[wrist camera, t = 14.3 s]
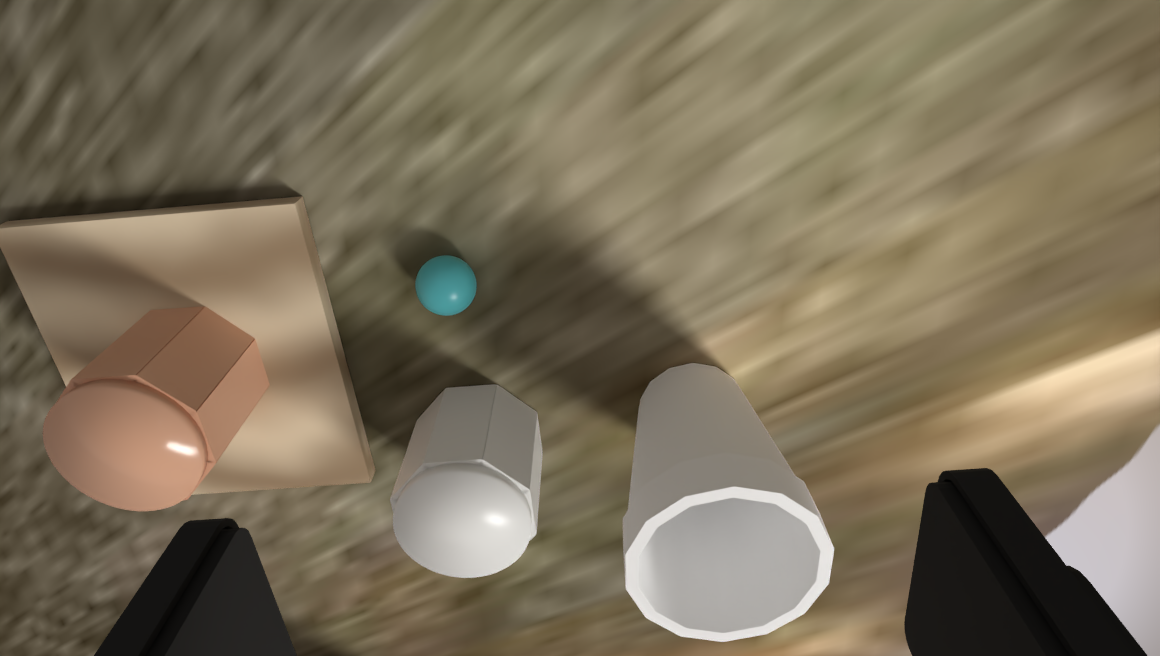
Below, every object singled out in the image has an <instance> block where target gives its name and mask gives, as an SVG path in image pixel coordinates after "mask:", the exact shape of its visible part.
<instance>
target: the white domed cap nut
mask: <svg viewBox="0 0 1160 656" xmlns="http://www.w3.org/2000/svg"><path fill="white" fill-rule="evenodd" d="M542 453H543V452H542V444H541V437H540V429H539V422H538V415H537V411H535V410H534V409H532V408H531V407H529V406H528V405H526V404H525V403H523V402H522V401H521V400H519V399H518V398H516V397H515V396H513V395H512V394H510V393H509V392H507V391H506V390H505V389H503V388H502V387H500V386H499V385H496V384H491V385H478V386H464V387H450V388H445V389H444V390H443V391H442V392H441V394H440V395H439V396H438V397H437V398H436V399H435V400H434V401H433V403H432V404H431V405H430V406H429V407H428V408H427V409H426V410H425V411H424V413H423V414H422V415H421V416H420V417H419V418H418V419H417V421H416V424H415V427H414V430H413V433H412V436H411V439H410V442H409V445H408V448H407V450H406V453H405V456H404V459H403V462H402V465H401V468H400V471H399V474H398V477H397V480H396V483H395V486H394V489H393V492H392V495H391V498H390V502H391V505H392V509H393V513H394V515H393V528H394V533H395V535H396V538H397V540H398V542H399V544H400V546H401V547H402V548H403V550H404V551H405V552H406V553H407V554H408V555H409V556H410V557H411V558H412V559H413V560H414V561H416V562H417V563H419V564H420V565H422V566H423V567H425V568H427V569H429V570H432V571H434V572H437V573H440V574H443V575H447V576H453V577H462V578H473V577H482V576H486V575H490V574H493V573H496V572H499V571H501V570H503V569H505V568H507V567H508V566H510V565H511V564H513V563H514V562H515V561H516V560H517V559H518V558H519V557H520V556H521V555H522V554H523V552H524V551H525V549H526V547H527V545H528V543H529V541H530V540H531V539H532V538H533V537H534V536H535V535H536V533H537V520H538V506H539V493H540V480H541V467H542Z"/></svg>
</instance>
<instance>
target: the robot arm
mask: <svg viewBox="0 0 1160 656" xmlns="http://www.w3.org/2000/svg"><path fill="white" fill-rule="evenodd" d="M905 634H906V640H907V643H908V646H909V649H910V652H911V654H912V656H1147V654H1146V653H1145V652H1144V651H1143V649H1142V648H1141V647H1140V645H1139V644H1138V643H1137V642H1136V640H1135V639H1134V638H1133V637H1132V635H1131V634H1130V633H1129V631H1128V630H1127V629H1126V628H1125V626H1124V625H1123V624H1122V622H1120V620H1119V619H1118V617H1117V616H1116V615H1115V614H1114V612H1113V611H1112V610H1111V608H1110V607H1109V606H1108V605H1107V604H1106V602H1105V601H1104V599H1103V598H1102V597H1101V596H1100V595H1099V593H1098V592H1097V591H1096V589H1095V588H1094V587H1093V585H1092V584H1091V583H1090V582H1089V581H1088V580H1087V578H1086V577H1085V576H1083V574H1082V573H1081V572H1080V571H1078V570H1076V569H1074V568H1073V567H1071V566H1066V565H1065V563H1064V562H1063V561H1062V560H1061V558H1060V557H1059V556H1058V554H1057V553H1056V552H1055V550H1054V549H1053V548H1052V546H1051V545H1050V544H1049V543H1048V541H1047V540H1046V539H1045V537H1044V536H1043V535H1042V533H1041V532H1040V531H1039V529H1038V528H1037V527H1036V526H1035V524H1034V523H1033V522H1032V520H1031V519H1030V518H1029V516H1028V515H1027V514H1026V512H1025V511H1024V510H1023V509H1022V507H1021V506H1020V505H1019V503H1018V502H1017V501H1016V499H1015V498H1014V497H1013V495H1012V494H1011V493H1010V492H1009V490H1008V489H1007V488H1006V486H1005V485H1004V484H1003V482H1002V481H1001V480H1000V479H999V477H998V476H997V475H996V474H995V473H994V472H993V471H992V470H990V469H988V468H981V469H966V470H951V471H944V472H942V473H941V475H940V476H939V479H938V482H936V483H929V484H928V486H927V488H926V492H925V498H924V504H923V511H922V517H921V523H920V529H919V535H918V541H917V548H916V554H915V560H914V566H913V572H912V578H911V585H910V591H909V597H908V603H907V609H906V616H905ZM94 656H296V653H295V650H294V647H293V645H292V642H291V640H290V637H289V634H288V632H287V629H286V626H285V624H284V621H283V619H282V616H281V613H280V611H279V608H278V606H277V603H276V600H275V598H274V595H273V592H272V590H271V587H270V585H269V582H268V579H267V577H266V574H265V571H264V569H263V566H262V564H261V561H260V558H259V556H258V553H257V550H256V548H255V545H254V543H253V540H252V537H251V535H250V533H249V531H248V530H247V529H245V528H239V527H238V525H237V523H236V522H235V521H234V520H233V519H229V518H224V519H209V520H194V521H188V522H186V523H184V524H183V526H182V527H181V528H180V529H179V530H178V532H177V533H176V535H175V536H174V538H173V539H172V541H171V542H170V544H169V545H168V547H167V548H166V550H165V551H164V553H163V554H162V556H161V557H160V558H159V560H158V561H157V563H156V564H155V566H154V567H153V569H152V570H151V572H150V573H149V575H148V576H147V578H146V579H145V581H144V582H143V584H142V585H141V587H140V588H139V590H138V591H137V593H136V594H135V596H134V597H133V599H132V600H131V601H130V603H129V604H128V606H127V607H126V609H125V610H124V612H123V613H122V615H121V616H120V618H119V619H118V621H117V622H116V624H115V625H114V627H113V628H112V630H111V631H110V633H109V634H108V636H107V637H106V639H105V640H104V642H103V643H102V644H101V646H100V647H99V649H98V650H97V652H96V653H95V655H94Z"/></svg>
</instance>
